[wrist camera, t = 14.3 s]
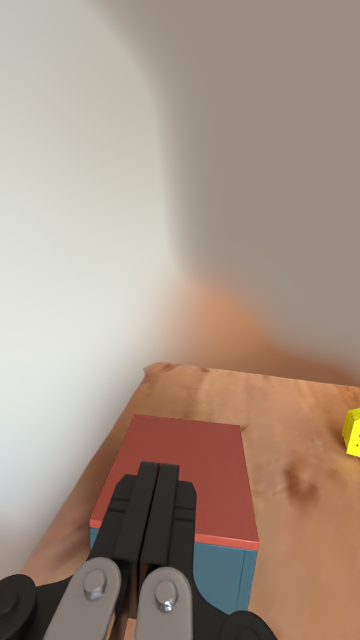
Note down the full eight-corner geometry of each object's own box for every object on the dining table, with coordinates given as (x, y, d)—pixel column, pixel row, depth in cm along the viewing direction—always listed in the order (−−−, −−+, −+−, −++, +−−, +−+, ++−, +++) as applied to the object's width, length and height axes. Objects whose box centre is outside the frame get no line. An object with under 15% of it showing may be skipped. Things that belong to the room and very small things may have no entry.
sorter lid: (134, 419, 39) (134, 414, 39) (238, 431, 38) (239, 425, 38) (89, 527, 24) (88, 519, 24) (257, 551, 23) (259, 542, 23)
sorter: (132, 478, 41) (132, 423, 38) (232, 491, 40) (239, 435, 37) (92, 602, 27) (89, 528, 24) (244, 626, 26) (257, 551, 23)
